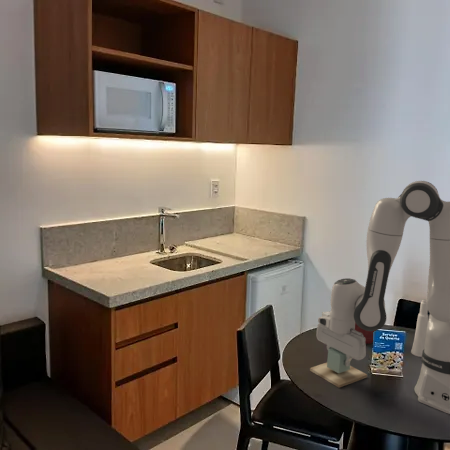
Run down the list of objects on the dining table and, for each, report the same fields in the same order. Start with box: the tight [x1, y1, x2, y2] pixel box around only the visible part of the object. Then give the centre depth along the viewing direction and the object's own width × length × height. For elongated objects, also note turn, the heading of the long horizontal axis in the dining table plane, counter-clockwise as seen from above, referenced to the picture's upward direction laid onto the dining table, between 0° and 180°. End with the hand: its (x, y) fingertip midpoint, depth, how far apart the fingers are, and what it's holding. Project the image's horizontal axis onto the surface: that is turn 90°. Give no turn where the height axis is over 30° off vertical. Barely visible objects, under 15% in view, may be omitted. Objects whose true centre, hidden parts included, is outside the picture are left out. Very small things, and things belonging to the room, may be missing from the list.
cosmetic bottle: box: [410, 299, 429, 358], centre depth 188 cm, size 6×6×22 cm
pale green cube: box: [326, 348, 351, 373], centre depth 171 cm, size 6×6×7 cm
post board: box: [309, 361, 368, 389], centre depth 171 cm, size 14×14×7 cm
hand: (338, 361), depth 171 cm, fingers closed on pale green cube, 6 cm apart
